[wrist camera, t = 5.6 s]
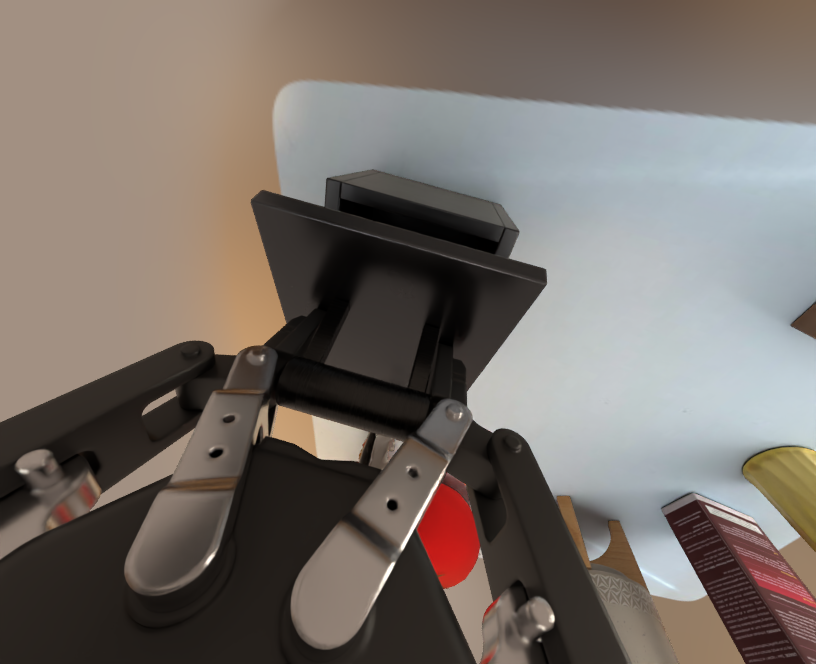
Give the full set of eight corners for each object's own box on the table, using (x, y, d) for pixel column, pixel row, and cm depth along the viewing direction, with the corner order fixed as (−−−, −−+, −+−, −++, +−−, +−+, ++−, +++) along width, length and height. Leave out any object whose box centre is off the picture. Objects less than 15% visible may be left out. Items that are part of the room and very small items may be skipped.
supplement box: (657, 508, 37) (769, 714, 23) (692, 490, 34) (840, 709, 21) (716, 533, 37) (858, 748, 24) (754, 517, 35) (938, 747, 21)
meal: (369, 381, 33) (322, 494, 22) (406, 389, 33) (377, 507, 22) (361, 460, 41) (324, 573, 30) (391, 468, 41) (364, 583, 30)
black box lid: (261, 188, 10) (133, 304, 7) (547, 268, 10) (560, 428, 7) (311, 384, 23) (274, 460, 19) (439, 422, 22) (424, 504, 19)
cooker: (372, 168, 22) (325, 177, 15) (501, 204, 22) (520, 231, 15) (349, 328, 30) (311, 385, 23) (445, 355, 30) (438, 422, 23)
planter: (510, 496, 40) (538, 702, 25) (620, 494, 36) (730, 735, 21) (522, 545, 46) (550, 735, 31) (617, 548, 42) (702, 766, 27)
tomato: (412, 451, 39) (396, 546, 29) (494, 494, 40) (503, 596, 31) (372, 489, 45) (348, 578, 35) (445, 525, 47) (440, 618, 37)
